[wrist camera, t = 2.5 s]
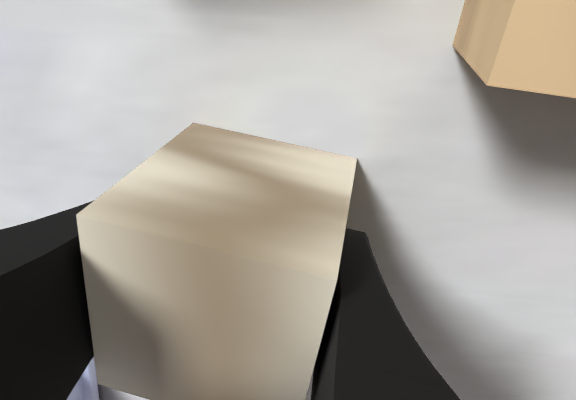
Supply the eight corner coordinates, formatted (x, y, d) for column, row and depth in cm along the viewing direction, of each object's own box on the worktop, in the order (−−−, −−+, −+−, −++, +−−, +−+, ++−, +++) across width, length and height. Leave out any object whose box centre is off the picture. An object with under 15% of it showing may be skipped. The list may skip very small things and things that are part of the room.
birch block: (188, 253, 14) (97, 384, 9) (193, 122, 11) (76, 215, 7) (324, 288, 13) (294, 442, 9) (357, 158, 11) (336, 279, 7)
